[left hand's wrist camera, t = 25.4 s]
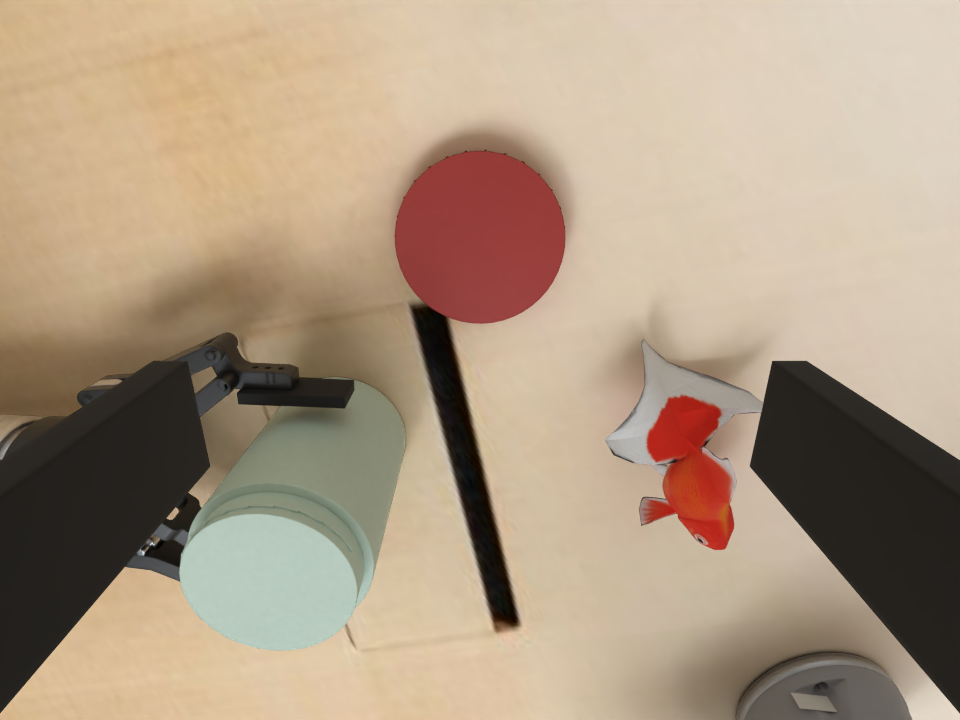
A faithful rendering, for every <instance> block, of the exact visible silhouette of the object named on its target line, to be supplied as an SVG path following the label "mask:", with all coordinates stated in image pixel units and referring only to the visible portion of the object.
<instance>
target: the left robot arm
mask: <svg viewBox="0 0 960 720" xmlns="http://www.w3.org/2000/svg"><path fill="white" fill-rule="evenodd" d="M209 467H210V463H209V458H208V454H207V449H206V444H205V440H204V435H203V430H202V426H201V421H200V417H199V412H198V407H197V403H196V398H195V393H194V389H193V384H192V379H191V375H190V370H189V365H188V361H153V362H151V363H150V364H148V365H147V366H145V367H143V368H142V369H140V370H139V371H137V372H136V373H134V374H133V375H131V376H130V377H128V378H126V379H125V380H123V381H122V382H120V383H119V384H117V385H116V386H114V387H113V388H111V389H109V390H108V391H106V392H105V393H103V394H102V395H100V396H99V397H97V398H96V399H94V400H93V401H91V402H89V403H88V404H86V405H85V406H83V407H82V408H80V409H79V410H77V411H76V412H74V413H72V414H71V415H69V416H68V417H66V418H65V419H63V420H62V421H60V422H59V423H57V424H55V425H54V426H52V427H51V428H49V429H48V430H46V431H45V432H43V433H42V434H40V435H39V436H37V437H35V438H34V439H32V440H31V441H29V442H28V443H26V444H25V445H23V446H22V447H20V448H18V449H17V450H15V451H14V452H12V453H11V454H9V455H8V456H6V457H5V458H3V459H2V460H0V713H1V712H2V711H3V709H4V708H5V707H6V706H7V705H8V703H9V702H10V701H11V700H12V699H13V698H14V696H15V695H16V694H17V693H18V692H19V691H20V689H21V688H22V687H23V686H24V685H25V683H26V682H27V681H28V680H29V679H30V678H31V676H32V675H33V674H34V673H35V672H36V671H37V669H38V668H39V667H40V666H41V665H42V664H43V662H44V661H45V660H46V659H47V658H48V656H49V655H50V654H51V653H52V652H53V651H54V649H55V648H56V647H57V646H58V645H59V644H60V642H61V641H62V640H63V639H64V638H65V636H66V635H67V634H68V633H69V632H70V631H71V629H72V628H73V627H74V626H75V625H76V624H77V622H78V621H79V620H80V619H81V618H82V616H83V615H84V614H85V613H86V612H87V611H88V609H89V608H90V607H91V606H92V605H93V604H94V602H95V601H96V600H97V599H98V598H99V597H100V595H101V594H102V593H103V592H104V591H105V589H106V588H107V587H108V586H109V585H110V584H111V582H112V581H113V580H114V579H115V578H116V577H117V575H118V574H119V573H120V572H121V571H122V569H123V568H124V567H125V566H126V565H127V564H128V562H129V561H130V560H131V559H132V558H133V557H134V555H135V554H136V553H137V552H138V551H139V550H140V548H141V547H142V546H143V545H144V544H145V542H146V541H147V540H148V539H149V538H150V537H151V535H152V534H153V533H154V532H155V531H156V530H157V528H158V527H159V526H160V525H161V524H162V522H163V521H164V520H165V519H166V518H167V517H168V515H169V514H170V513H171V512H172V511H173V510H174V508H175V507H176V506H177V505H178V504H179V502H180V501H181V500H182V499H183V498H184V497H185V495H186V494H187V493H188V492H189V491H190V490H191V488H192V487H193V486H194V485H195V484H196V483H197V481H198V480H199V479H200V478H201V477H202V475H203V474H204V473H205V472H206V471H207V470H208V468H209ZM750 467H751V468H752V470H753V471H754V472H755V473H756V474H757V475H758V477H759V478H760V479H761V480H762V481H763V483H764V484H765V485H766V486H767V487H768V488H769V490H770V491H771V492H772V493H773V494H774V495H775V497H776V498H777V499H778V500H779V501H780V502H781V504H782V505H783V506H784V507H785V508H786V510H787V511H788V512H789V513H790V514H791V515H792V517H793V518H794V519H795V520H796V521H797V522H798V524H799V525H800V526H801V527H802V528H803V530H804V531H805V532H806V533H807V534H808V535H809V537H810V538H811V539H812V540H813V541H814V542H815V544H816V545H817V546H818V547H819V548H820V550H821V551H822V552H823V553H824V554H825V555H826V557H827V558H828V559H829V560H830V561H831V562H832V564H833V565H834V566H835V567H836V568H837V569H838V571H839V572H840V573H841V574H842V575H843V577H844V578H845V579H846V580H847V581H848V582H849V584H850V585H851V586H852V587H853V588H854V589H855V591H856V592H857V593H858V594H859V595H860V597H861V598H862V599H863V600H864V601H865V602H866V604H867V605H868V606H869V607H870V608H871V609H872V611H873V612H874V613H875V614H876V615H877V616H878V618H879V619H880V620H881V621H882V622H883V624H884V625H885V626H886V627H887V628H888V629H889V631H890V632H891V633H892V634H893V635H894V636H895V638H896V639H897V640H898V641H899V642H900V644H901V645H902V646H903V647H904V648H905V649H906V651H907V652H908V653H909V654H910V655H911V656H912V658H913V659H914V660H915V661H916V662H917V664H918V665H919V666H920V667H921V668H922V669H923V671H924V672H925V673H926V674H927V675H928V676H929V678H930V679H931V680H932V681H933V682H934V683H935V685H936V686H937V687H938V688H939V689H940V691H941V692H942V693H943V694H944V695H945V696H946V698H947V699H948V700H949V701H950V702H951V703H952V705H953V706H954V707H955V708H956V709H957V711H958V712H959V713H960V460H958V459H957V458H955V457H954V456H952V455H951V454H949V453H948V452H946V451H945V450H943V449H942V448H940V447H938V446H937V445H935V444H934V443H932V442H931V441H929V440H928V439H926V438H925V437H923V436H921V435H920V434H918V433H917V432H915V431H914V430H912V429H911V428H909V427H908V426H906V425H905V424H903V423H901V422H900V421H898V420H897V419H895V418H894V417H892V416H891V415H889V414H888V413H886V412H884V411H883V410H881V409H880V408H878V407H877V406H875V405H874V404H872V403H871V402H869V401H867V400H866V399H864V398H863V397H861V396H860V395H858V394H857V393H855V392H854V391H852V390H851V389H849V388H847V387H846V386H844V385H843V384H841V383H840V382H838V381H837V380H835V379H834V378H832V377H830V376H829V375H827V374H826V373H824V372H823V371H821V370H820V369H818V368H817V367H815V366H813V365H812V364H810V363H809V362H807V361H772V365H771V370H770V375H769V379H768V384H767V389H766V393H765V398H764V403H763V407H762V412H761V416H760V421H759V426H758V430H757V435H756V440H755V444H754V449H753V454H752V458H751V463H750ZM736 720H912V718H911V715H910V713H909V710H908V707H907V704H906V702H905V700H904V698H903V696H902V695H901V693H900V691H899V690H898V688H897V686H896V685H895V684H894V683H893V681H892V680H891V679H890V677H889V676H888V675H887V674H886V672H885V671H884V670H883V669H882V668H881V667H880V666H878V665H877V664H875V663H874V662H872V661H870V660H868V659H866V658H863V657H860V656H856V655H852V654H846V653H818V654H811V655H806V656H802V657H799V658H795V659H792V660H789V661H787V662H785V663H782V664H780V665H778V666H776V667H774V668H772V669H771V670H769V671H768V672H766V673H765V674H763V675H762V676H761V677H759V678H758V679H757V680H756V681H755V682H754V683H753V684H752V685H751V686H750V687H749V688H748V689H747V690H746V692H745V693H744V695H743V696H742V698H741V700H740V703H739V705H738V709H737V714H736Z"/></svg>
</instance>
